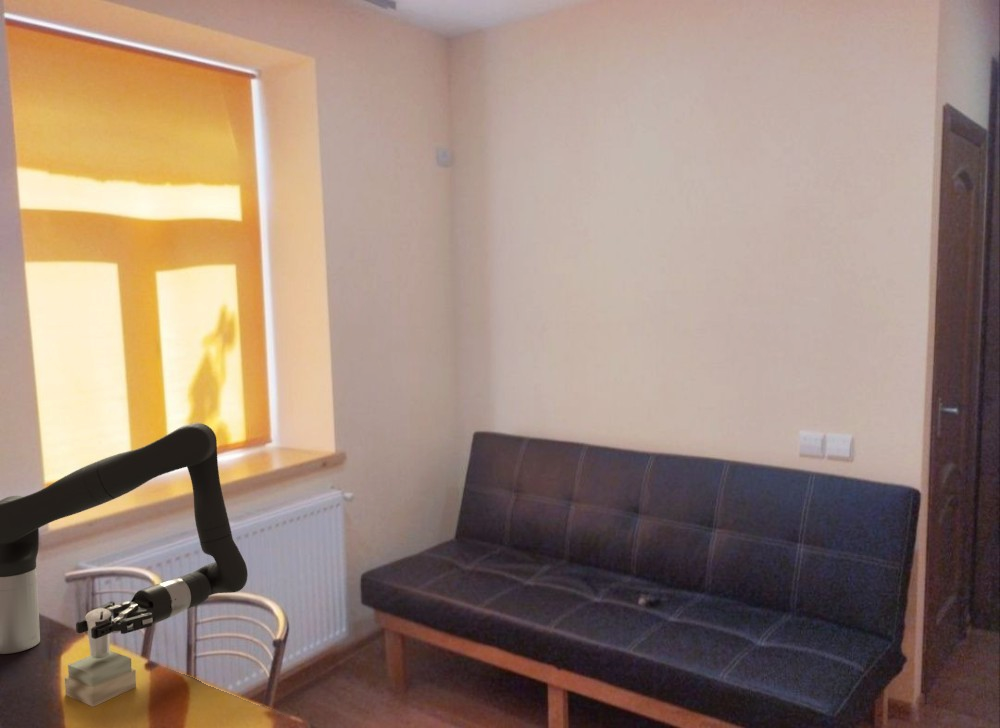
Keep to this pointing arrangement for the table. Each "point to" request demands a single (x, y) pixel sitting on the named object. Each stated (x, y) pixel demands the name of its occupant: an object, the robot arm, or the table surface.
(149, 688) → the table surface
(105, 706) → the table surface
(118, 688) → the tower base
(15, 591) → the robot arm
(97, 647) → the milkshake
